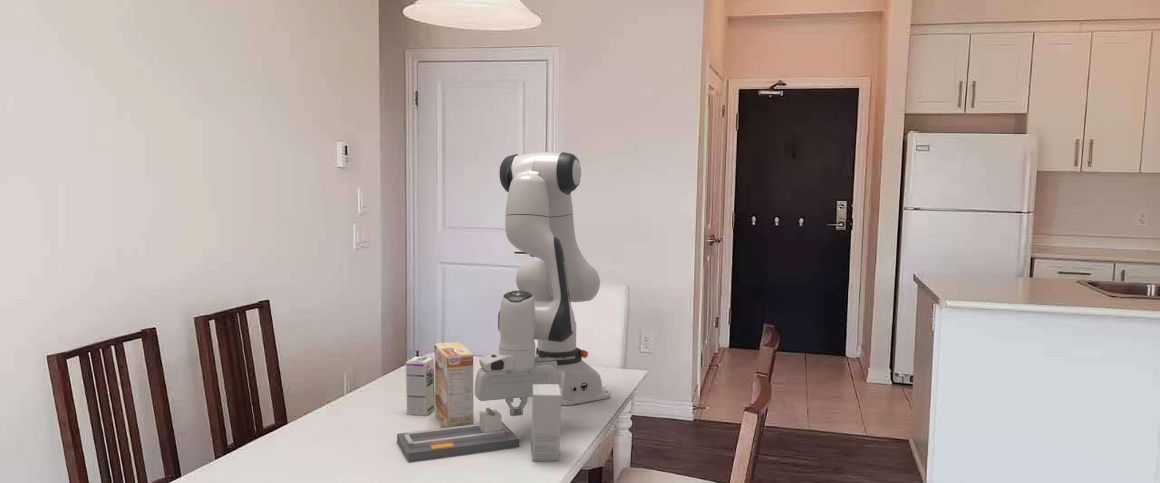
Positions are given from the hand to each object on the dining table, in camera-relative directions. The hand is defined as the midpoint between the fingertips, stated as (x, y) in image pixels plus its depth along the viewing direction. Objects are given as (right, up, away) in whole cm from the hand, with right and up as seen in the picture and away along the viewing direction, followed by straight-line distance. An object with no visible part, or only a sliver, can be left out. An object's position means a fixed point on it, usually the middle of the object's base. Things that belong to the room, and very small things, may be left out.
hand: (516, 415), depth 192 cm
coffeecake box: (-17, -5, +11) cm, 21 cm away
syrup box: (-27, -4, +20) cm, 34 cm away
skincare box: (+8, -7, -11) cm, 15 cm away
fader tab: (-6, -3, -2) cm, 7 cm away
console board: (-13, -6, -5) cm, 15 cm away
